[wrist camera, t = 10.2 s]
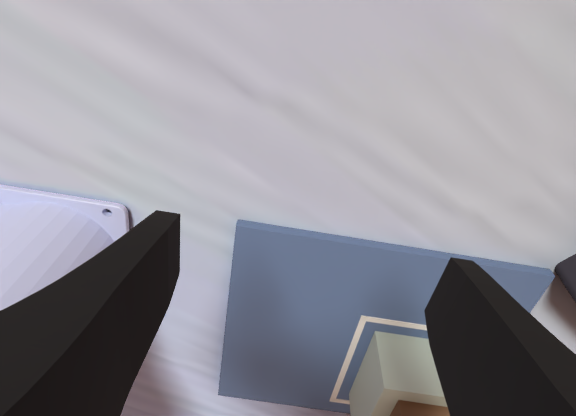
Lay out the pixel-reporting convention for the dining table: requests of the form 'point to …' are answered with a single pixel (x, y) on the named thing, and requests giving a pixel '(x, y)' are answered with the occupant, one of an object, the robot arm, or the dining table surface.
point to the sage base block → (395, 375)
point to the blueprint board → (329, 309)
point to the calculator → (568, 274)
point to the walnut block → (418, 409)
